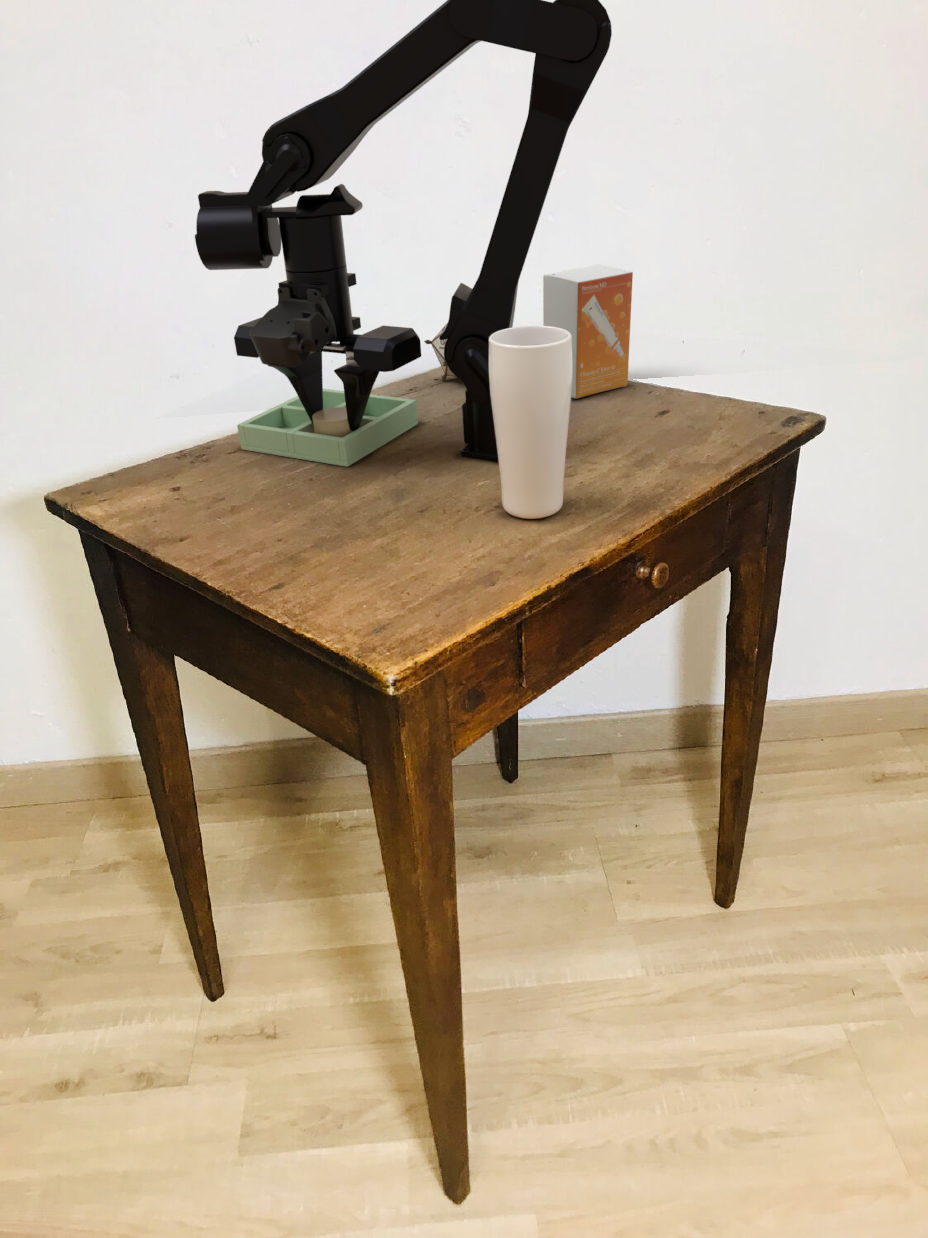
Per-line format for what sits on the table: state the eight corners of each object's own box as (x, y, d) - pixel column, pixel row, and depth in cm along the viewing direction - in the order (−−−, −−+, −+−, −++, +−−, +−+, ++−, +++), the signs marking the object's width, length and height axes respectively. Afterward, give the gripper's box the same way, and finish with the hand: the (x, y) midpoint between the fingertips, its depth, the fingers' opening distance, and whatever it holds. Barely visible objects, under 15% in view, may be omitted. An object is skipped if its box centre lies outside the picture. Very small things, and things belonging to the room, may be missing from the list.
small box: (576, 400, 108) (577, 281, 102) (542, 388, 113) (541, 273, 106) (629, 386, 112) (634, 270, 105) (594, 374, 117) (596, 263, 110)
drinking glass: (579, 496, 85) (581, 326, 77) (560, 528, 79) (561, 348, 72) (506, 490, 87) (501, 323, 79) (483, 520, 82) (476, 344, 74)
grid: (418, 423, 104) (416, 399, 103) (347, 467, 94) (344, 440, 93) (317, 410, 110) (314, 387, 109) (241, 449, 100) (236, 424, 99)
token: (366, 432, 98) (364, 409, 97) (342, 446, 95) (339, 423, 94) (331, 427, 100) (329, 405, 99) (306, 441, 97) (303, 418, 96)
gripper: (181, 279, 87) (212, 441, 95) (349, 290, 79) (368, 467, 87) (259, 256, 95) (282, 407, 103) (418, 264, 87) (429, 428, 95)
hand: (335, 426), depth 97 cm, fingers closed on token, 4 cm apart
